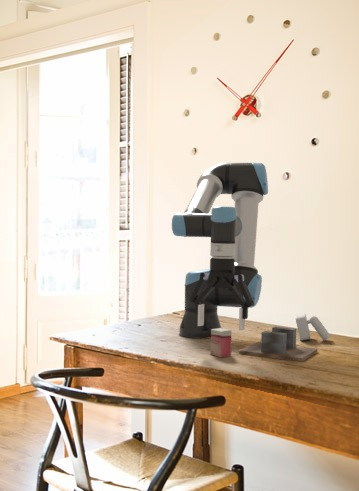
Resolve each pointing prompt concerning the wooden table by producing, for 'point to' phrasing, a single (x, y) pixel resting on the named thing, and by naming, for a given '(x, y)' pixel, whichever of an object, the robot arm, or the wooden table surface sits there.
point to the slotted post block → (279, 346)
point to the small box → (220, 342)
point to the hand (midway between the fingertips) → (220, 327)
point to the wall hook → (304, 329)
